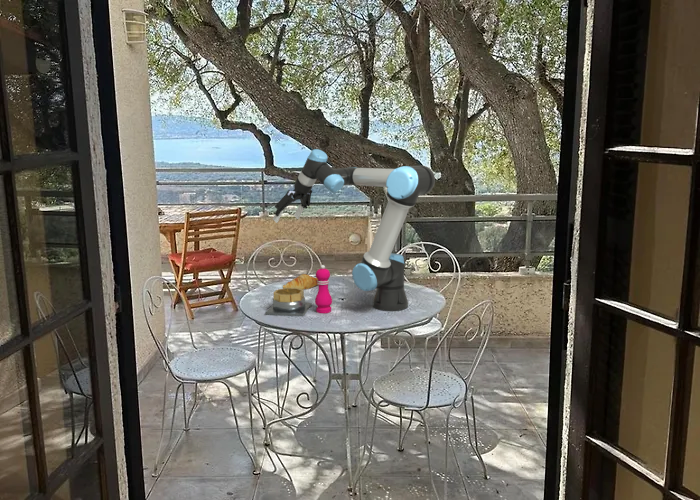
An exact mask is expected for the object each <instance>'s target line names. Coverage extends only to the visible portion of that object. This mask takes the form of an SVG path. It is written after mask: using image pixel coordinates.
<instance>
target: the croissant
mask: <svg viewBox="0 0 700 500" xmlns="http://www.w3.org/2000/svg"><path fill="white" fill-rule="evenodd" d="M317 280H318V279H317V278H316V277H314V276H312V275H309V274H306V273H302V274H300V275H298V276H297V277H295V278H293V279H291V281H288V282H286V284H283V285H282V289H283V288H299V289H301V290H304V291H305V290H309V289H311V288H313V287H316V286H318V284H317Z"/></svg>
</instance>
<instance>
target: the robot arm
mask: <svg viewBox="0 0 700 500" xmlns="http://www.w3.org/2000/svg"><path fill="white" fill-rule="evenodd" d="M327 161H328V155H327V153H326V152H325V151H323V150H321V149H318V148H317V149H315V148H314V149H312V150H311V152H310V153H309V155H308V156H307V158H306V160H305V162H304V165H303V167H302V168H301V171H300V172H299V174H298V176H297V179H296V180H295V182H294V185H293V187H294V189H293V190H292V191H291V190H290V189H288V190H287V192H286V193H285V195H284V196H283V197H282V198H280V200H279V201H278V202H277V203H276V204H275V206H274V208H275V209H276V211H275V213H274V216H273V217H272V220H273V221H274V222H275V223H278V222H279V221H280V218H281V217H282V215H283V212H284V210H285V209H286V208H287V207H288V206H290V205H291V204H292V203H294V202H296V201H297V200H298V201H299V200H300V204H299V205H298V207H297V209H296V210H295V213H294V215H293V216H294V217H295V219H297V220H299V219H300V218H301V215H302V213H303V212H304V209H308V207H309V206H311V205H310V204H311V199H312V198H311V197H312V194H313V190H312V189H313V187H314V185H315V183H316V181H317V180H318V181H319V182H320V183H321V184H322V185H323V186H324V188H325V189H327V190H328V191H329V192H331V193H337V192H338V191H340V190H341V189H342V188H343V187H344V186H364V187H367V186H368V187H382V188H386V192H387V193H386V197H387V199H388V202H387V203H386V206H385V210H384V212H383V214H382V217H381V219H380V222H379V224H378V227H377V230H376V232H375V234H374V237H373V240H372V243H371V246H370V248H369V251H366V252H364V254H363V256H362V259H361V261H360V262H359V263H357V264H356V265H354V266H353V268H352V273H351V277H352V280H353V282H354V285H355V286H356V287H357V288H358V289H359V290H361V291H363V292H369V291H374V290H376V291H375V294H374V297H373V299H372V307H373V308H374V309H375V310H379V311H387V312H388V311H390V312H395V311H401V310H402V311H403V310H406V309H407V308H408V307H409V299H408V297H407V294H406V291H405V259H404V255H402V254H400V253H393V250H394V247H395V245H396V243H397V240H398V237H399V235H400V233H401V230H402V228H403V225H404V223H405V221H406V217H407V216H408V213H409V211H410V209H411V208H413V207H415V205H416V204H417V201H418V199H419V197H420V196H425V195H426V194H428V193H429V192H431V191H432V190H433V188H434V186H435V183H436V177H435V174H434V172H433V170H432V169H431V168H429V167H428V166H426V165H421V164H419V165H410V166H409V165H408V166H407V165H405V166H404V165H403V166H400V167H397V168H378V167H377V168H376V167H375V168H374V167H373V168H372V167H356V166H349V167H341V168H340V167H339V168H333V167H331V166H330V165H329V163H327Z"/></svg>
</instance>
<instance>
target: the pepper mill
mask: <svg viewBox="0 0 700 500" xmlns="http://www.w3.org/2000/svg"><path fill="white" fill-rule="evenodd" d="M330 277H331V273H330V270H329V269H328V268H326V266H325V264H322V265H320V268H319V269H317V270H316V272H315V278H317V279H318V280H317V284H318V285H317V286H318V290H317V294H316V296H315V299H314V304H315V305H316V308H315V309H316V313H318V314H329V313H330V314H331V312H332V306H331V305H332V304H333V298H332V295H331V293H330V291H329V284H330V279H329V278H330Z"/></svg>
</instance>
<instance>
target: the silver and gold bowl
mask: <svg viewBox="0 0 700 500" xmlns="http://www.w3.org/2000/svg"><path fill="white" fill-rule="evenodd" d="M304 292H305V289H304V290H301V289H299V288H283V287H282V288H280V289H279V288H278V289H276V290H274V291H273V298H272V305H271V306H270V307H269V308H268V309H267V310H266V311H265V316H277V317H278V316H281V317H282V316H283V317H304V316H305V315H306V314H307V312H308V311H309V310H310V309H311V308H312V306H313V303H312V302H306V297H305V293H304ZM309 308H310V309H309Z"/></svg>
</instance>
